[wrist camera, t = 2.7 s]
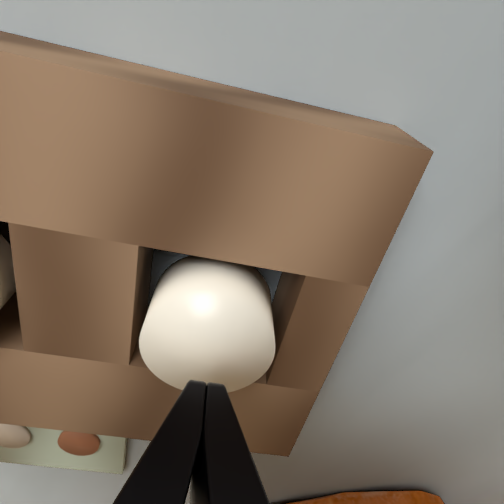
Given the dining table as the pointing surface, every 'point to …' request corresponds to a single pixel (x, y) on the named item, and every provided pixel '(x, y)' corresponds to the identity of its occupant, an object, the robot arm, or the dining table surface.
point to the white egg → (209, 324)
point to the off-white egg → (6, 272)
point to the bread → (376, 498)
